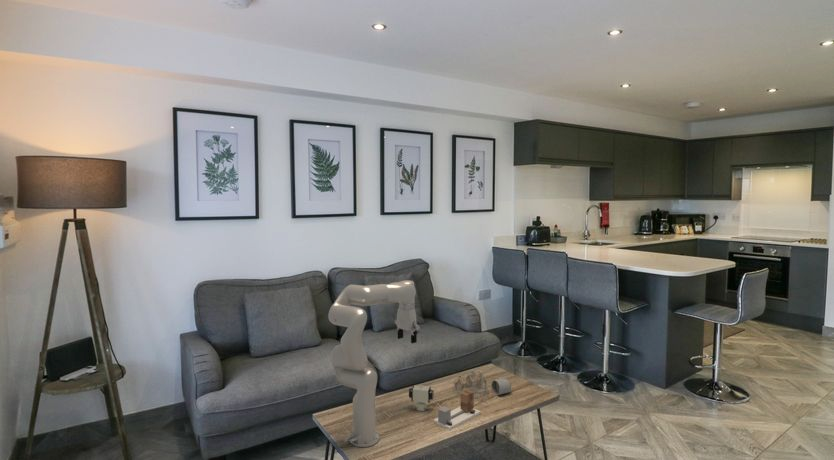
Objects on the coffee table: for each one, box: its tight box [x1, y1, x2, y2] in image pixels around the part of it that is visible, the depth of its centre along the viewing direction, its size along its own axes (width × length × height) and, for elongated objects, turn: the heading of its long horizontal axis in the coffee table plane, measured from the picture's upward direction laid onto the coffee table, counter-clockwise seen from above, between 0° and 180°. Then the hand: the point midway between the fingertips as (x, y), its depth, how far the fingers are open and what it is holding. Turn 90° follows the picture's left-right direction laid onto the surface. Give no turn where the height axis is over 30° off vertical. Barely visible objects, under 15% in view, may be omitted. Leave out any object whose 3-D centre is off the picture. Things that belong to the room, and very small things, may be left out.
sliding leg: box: [460, 390, 475, 412], centre depth 216 cm, size 5×7×8 cm
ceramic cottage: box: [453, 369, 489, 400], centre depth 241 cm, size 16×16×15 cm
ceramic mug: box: [491, 378, 512, 396], centre depth 241 cm, size 11×8×8 cm
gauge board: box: [432, 405, 482, 431], centre depth 213 cm, size 22×10×7 cm, turn 134°
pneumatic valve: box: [408, 384, 435, 412], centre depth 222 cm, size 6×12×12 cm, turn 78°
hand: (407, 340), depth 223 cm, fingers open, 9 cm apart
